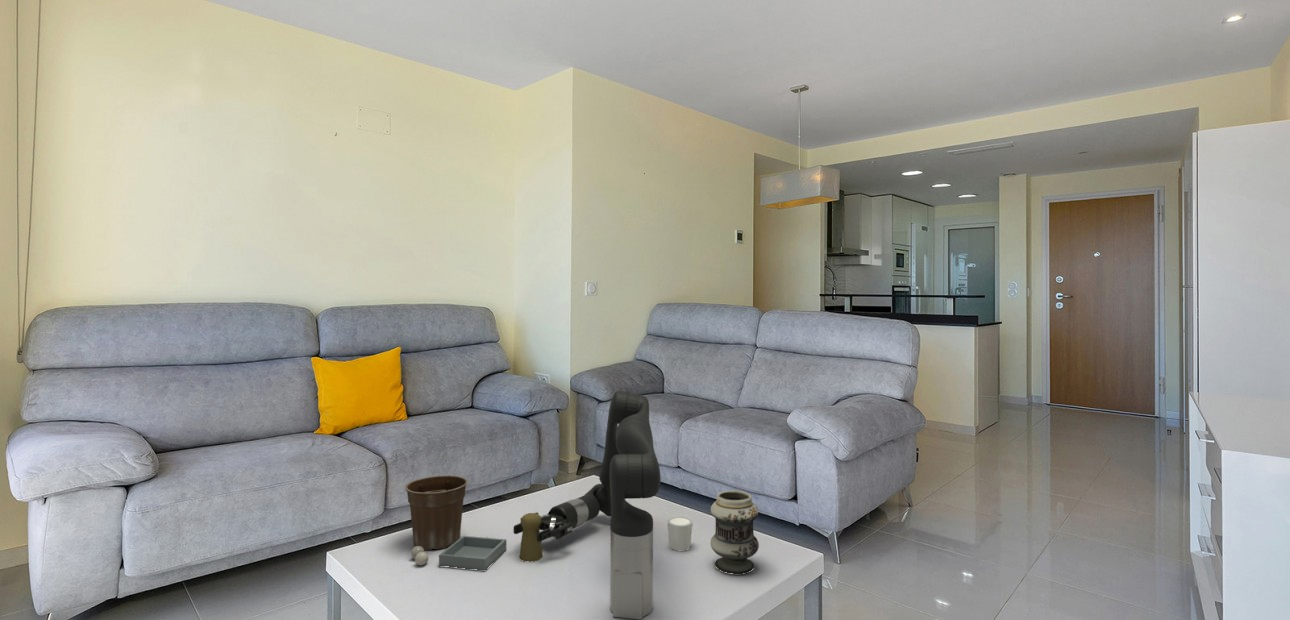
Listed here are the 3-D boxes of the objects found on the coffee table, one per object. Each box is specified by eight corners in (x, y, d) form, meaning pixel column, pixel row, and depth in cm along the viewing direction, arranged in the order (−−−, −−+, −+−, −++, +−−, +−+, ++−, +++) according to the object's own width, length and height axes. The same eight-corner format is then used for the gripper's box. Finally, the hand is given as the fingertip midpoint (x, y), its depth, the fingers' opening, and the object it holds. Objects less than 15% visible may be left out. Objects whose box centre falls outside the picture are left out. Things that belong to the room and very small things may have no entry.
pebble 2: (424, 568, 148) (424, 555, 148) (412, 567, 148) (412, 554, 148) (431, 562, 151) (431, 550, 151) (419, 561, 151) (419, 549, 151)
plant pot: (405, 534, 169) (405, 477, 169) (465, 527, 175) (465, 472, 174) (404, 557, 154) (404, 495, 153) (469, 549, 159) (469, 489, 159)
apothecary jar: (729, 551, 158) (730, 484, 158) (768, 566, 150) (768, 495, 149) (700, 565, 150) (700, 494, 150) (739, 582, 141) (739, 506, 141)
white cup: (690, 553, 157) (691, 526, 157) (665, 550, 159) (665, 524, 159) (693, 542, 164) (694, 517, 164) (669, 540, 165) (669, 515, 165)
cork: (514, 558, 153) (514, 516, 153) (529, 550, 159) (529, 509, 159) (532, 563, 151) (533, 520, 150) (547, 554, 156) (547, 512, 156)
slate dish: (485, 571, 146) (485, 559, 146) (438, 566, 148) (438, 554, 148) (506, 550, 158) (506, 539, 158) (463, 546, 161) (463, 535, 161)
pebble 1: (419, 561, 151) (419, 549, 151) (408, 560, 152) (408, 548, 152) (426, 556, 154) (426, 544, 154) (415, 555, 155) (415, 543, 155)
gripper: (550, 497, 170) (506, 513, 157) (588, 507, 162) (546, 525, 149) (550, 523, 170) (506, 542, 157) (588, 534, 162) (545, 555, 149)
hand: (525, 534), depth 153 cm, fingers open, 8 cm apart
